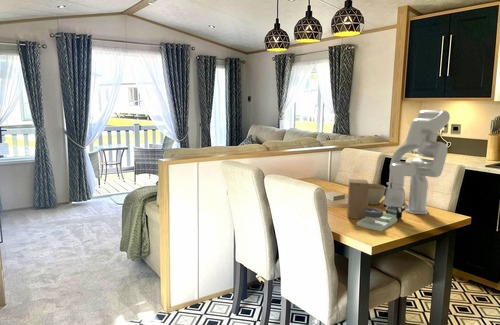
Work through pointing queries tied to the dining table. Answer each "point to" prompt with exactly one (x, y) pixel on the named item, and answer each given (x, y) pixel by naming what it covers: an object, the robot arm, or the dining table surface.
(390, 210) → the block
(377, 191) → the planter bowl
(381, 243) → the dining table surface
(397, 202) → the robot arm
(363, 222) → the chassis
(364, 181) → the wooden block
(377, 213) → the faceted grey bowl
